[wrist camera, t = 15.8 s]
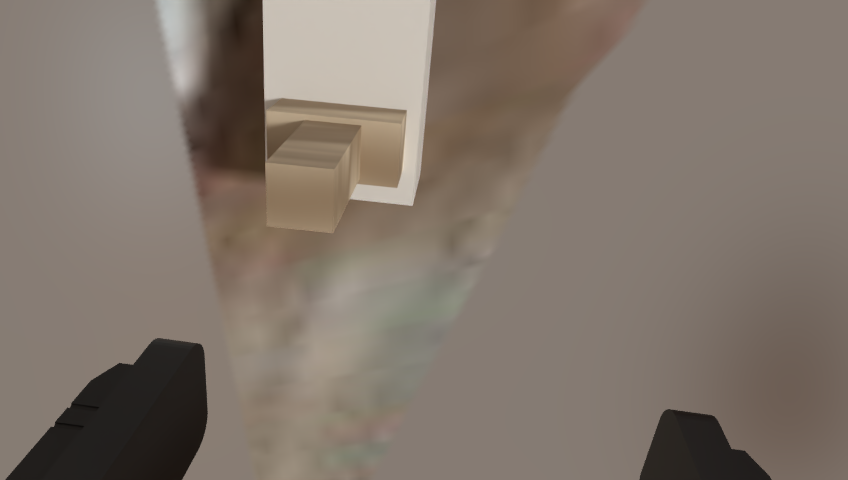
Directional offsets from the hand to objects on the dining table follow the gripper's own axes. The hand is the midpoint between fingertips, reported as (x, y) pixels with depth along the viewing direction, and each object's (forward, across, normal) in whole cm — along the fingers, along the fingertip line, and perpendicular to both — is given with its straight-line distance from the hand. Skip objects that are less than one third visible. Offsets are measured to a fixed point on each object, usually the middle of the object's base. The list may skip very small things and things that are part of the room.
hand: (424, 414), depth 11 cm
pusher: (+21, +5, +2) cm, 22 cm away
